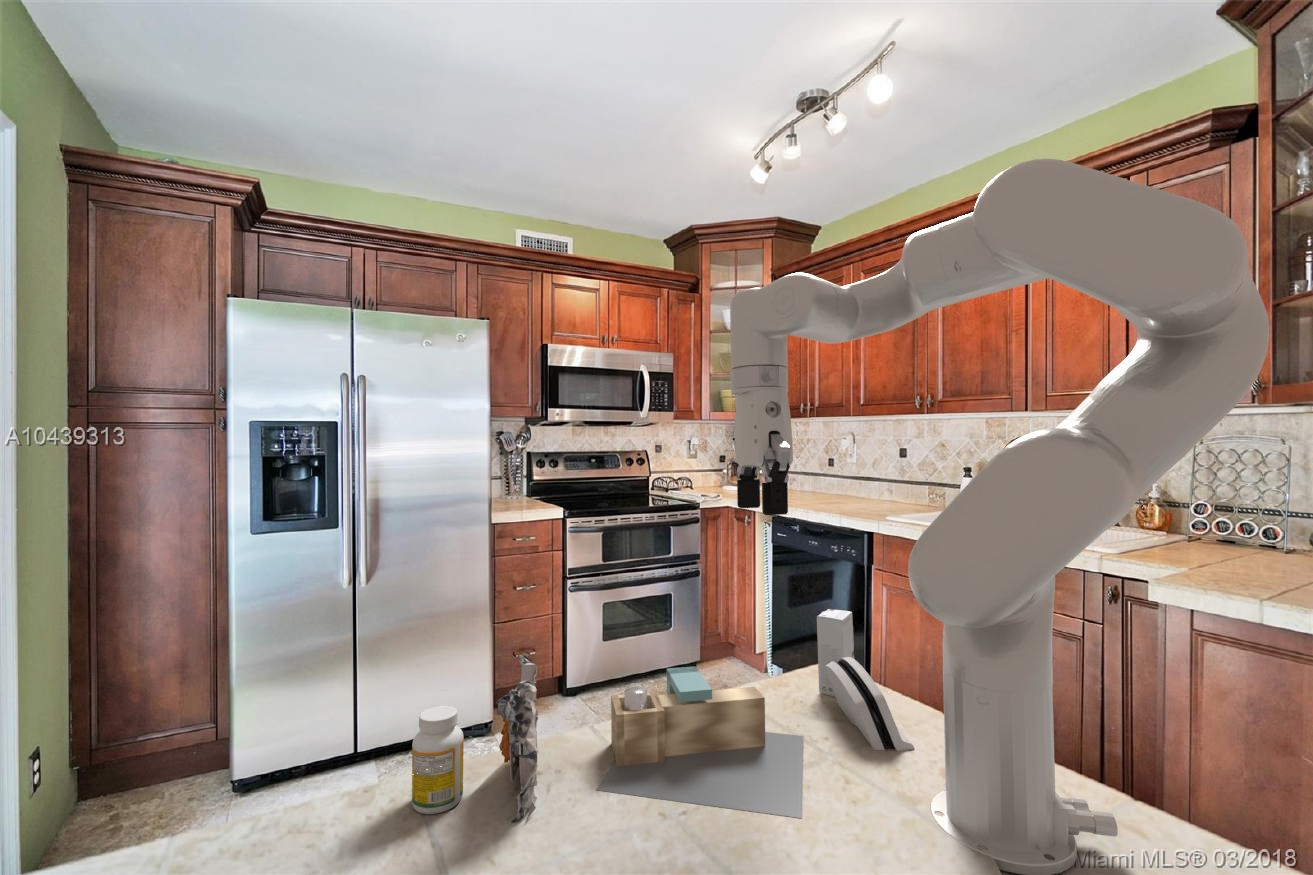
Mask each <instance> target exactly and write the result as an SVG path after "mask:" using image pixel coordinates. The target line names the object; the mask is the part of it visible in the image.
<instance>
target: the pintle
mask: <svg viewBox="0 0 1313 875" xmlns="http://www.w3.org/2000/svg"><path fill="white" fill-rule="evenodd" d="M647 693H648V689H647V688H646V687H643V686H638V685H636V686H630V687H629V686H628V687H627V688H625V689H624V694H625V711H630V710H641V709H647Z"/></svg>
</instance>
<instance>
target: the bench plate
mask: <svg viewBox="0 0 1313 875" xmlns="http://www.w3.org/2000/svg"><path fill="white" fill-rule="evenodd" d="M804 740H805V738H804V735H799V734H787V733H778V732H769V731H765V746H760V747H751V748H741V749H732V750H723V751H713V752H704V753H694V754H685V755H675V756H666V757H665V761H664V762H654V763H645V764H636V765H626V766H617V765H616V760H615V759H614V761H613V762H612V763H611V765H610V766H609V768H608V770H607V772H606V773H605V775H604V777H603V778H602V780H601V781H600V783H599V784H598V785H597V788H596V789H595V791H597V792H603V793H604V792H605V793H613V794H617V795H619V794H621V795H627V796H634V797H642V798H648V799H656V800H664V801H670V802H671V801H672V802H677V803H678V802H679V803H686V804H690V805H691V804H692V805H698V806H699V805H700V806H708V807H713V808H722V809H728V810H729V809H730V810H735V811H742V812H743V811H744V812H750V813H758V814H766V815H771V816H772V815H774V816H779V817H788V818H793V819H803V792H804V791H803V789H804V788H803V787H804V786H803V785H804V784H803V782H804V780H803V779H804V742H805V741H804Z"/></svg>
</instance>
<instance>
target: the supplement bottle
mask: <svg viewBox="0 0 1313 875" xmlns="http://www.w3.org/2000/svg"><path fill="white" fill-rule="evenodd" d="M458 720H459V719H458V709H457V708H456V707H455V706H450V705H439V706H433V707H429V708H427V709H425V710H423V711H422V712H421V713H420V714H419V717H418V727H419V731H418V732H417V734H416V735H415V736H414V737H413V740H412V742H411V743H412V745H411V748H412V749H411V754H412V755H411V758H412V759H411V761H412V762H411V769H412V770H411V776H412V777H411V800H412V802H411V805H412V808H413V809H414V811H416V812H418V813H419V814H424V815H437V814H440V813H444V812H447V811H449V810H452V809H453V808H454V807H456V806H457V805H458V804H459V803H460V802H461V800H462V799H463V795H464V743H465V742H464V731H463V730H462V729H461V727H459V726H458V725H457V724H458ZM440 766H442V767H440ZM426 769H428V770H426ZM417 773H418V774H417ZM412 774H414V775H412Z"/></svg>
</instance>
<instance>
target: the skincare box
mask: <svg viewBox="0 0 1313 875" xmlns="http://www.w3.org/2000/svg"><path fill="white" fill-rule="evenodd" d="M853 622H854V621H853V612H852V611H849V610H841V609H833V608H828V609H826V610H824V611H821V613H820V614H819V615H817V616H816V636H817V639H816V640H817V661H818V662H817V666H818V669H817V672H818V692H819V693H820V694H824V695H826V696H830V697H835V698H836V696H835V694H834V691H833V688H832V685H831V682H830V679H829V677H828V674H827V671H826V668H825V666H826V665H827V664H829V663H830V662H832V661H833V662H837V663H838V661H840V658H845V657H851V658H853V659H855V649H854V648H855V647H854V646H855V642H854V624H853Z"/></svg>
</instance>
